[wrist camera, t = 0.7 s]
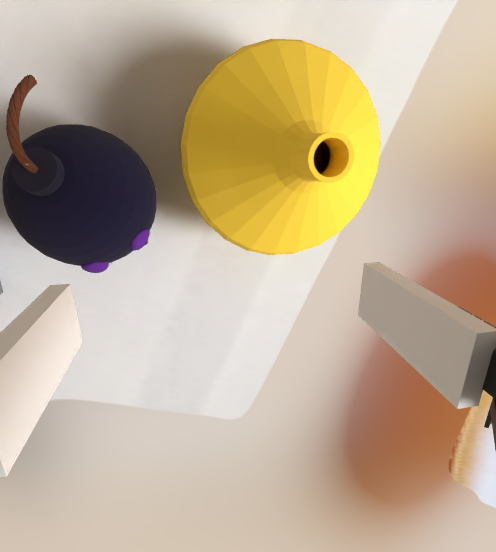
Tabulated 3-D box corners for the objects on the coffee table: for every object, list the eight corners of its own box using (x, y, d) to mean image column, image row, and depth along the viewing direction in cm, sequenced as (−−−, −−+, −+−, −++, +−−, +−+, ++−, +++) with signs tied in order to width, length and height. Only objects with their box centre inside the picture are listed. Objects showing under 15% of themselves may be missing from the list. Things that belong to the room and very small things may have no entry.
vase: (300, 255, 42) (382, 326, 25) (160, 205, 37) (136, 248, 20) (365, 110, 38) (523, 68, 20) (215, 30, 33) (248, -120, 15)
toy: (91, 263, 38) (37, 323, 24) (6, 150, 33) (-126, 145, 19) (182, 213, 38) (179, 244, 24) (110, 92, 33) (53, 44, 19)
